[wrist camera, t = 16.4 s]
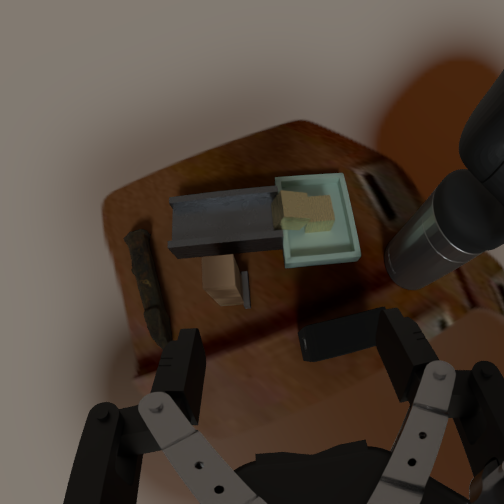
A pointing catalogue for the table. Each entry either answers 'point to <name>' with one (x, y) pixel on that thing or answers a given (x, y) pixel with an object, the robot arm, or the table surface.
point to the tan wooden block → (225, 281)
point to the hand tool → (149, 286)
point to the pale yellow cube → (290, 210)
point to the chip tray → (328, 242)
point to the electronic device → (339, 335)
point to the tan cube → (320, 214)
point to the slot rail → (224, 223)
